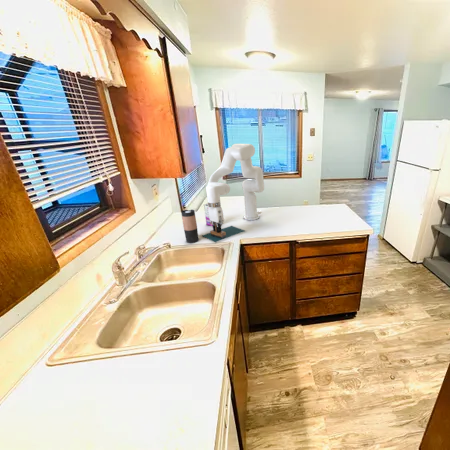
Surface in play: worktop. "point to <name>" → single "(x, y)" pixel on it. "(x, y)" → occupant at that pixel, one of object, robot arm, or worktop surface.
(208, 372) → the worktop surface
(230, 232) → the mat
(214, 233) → the brush
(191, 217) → the travel mug
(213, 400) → the worktop surface
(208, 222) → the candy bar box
